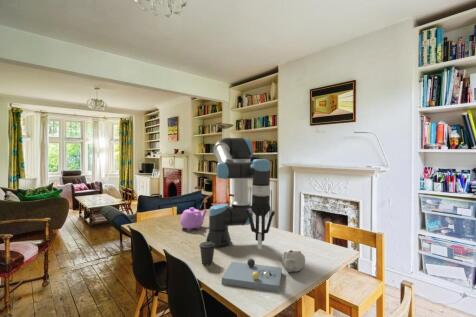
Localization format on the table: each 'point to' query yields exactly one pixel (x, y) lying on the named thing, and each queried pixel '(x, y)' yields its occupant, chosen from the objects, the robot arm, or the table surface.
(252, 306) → the table surface
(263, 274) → the steel ball
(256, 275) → the mustard ball
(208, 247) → the coffee cup
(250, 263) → the black ball
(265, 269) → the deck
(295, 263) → the candle
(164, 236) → the table surface
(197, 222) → the teapot
